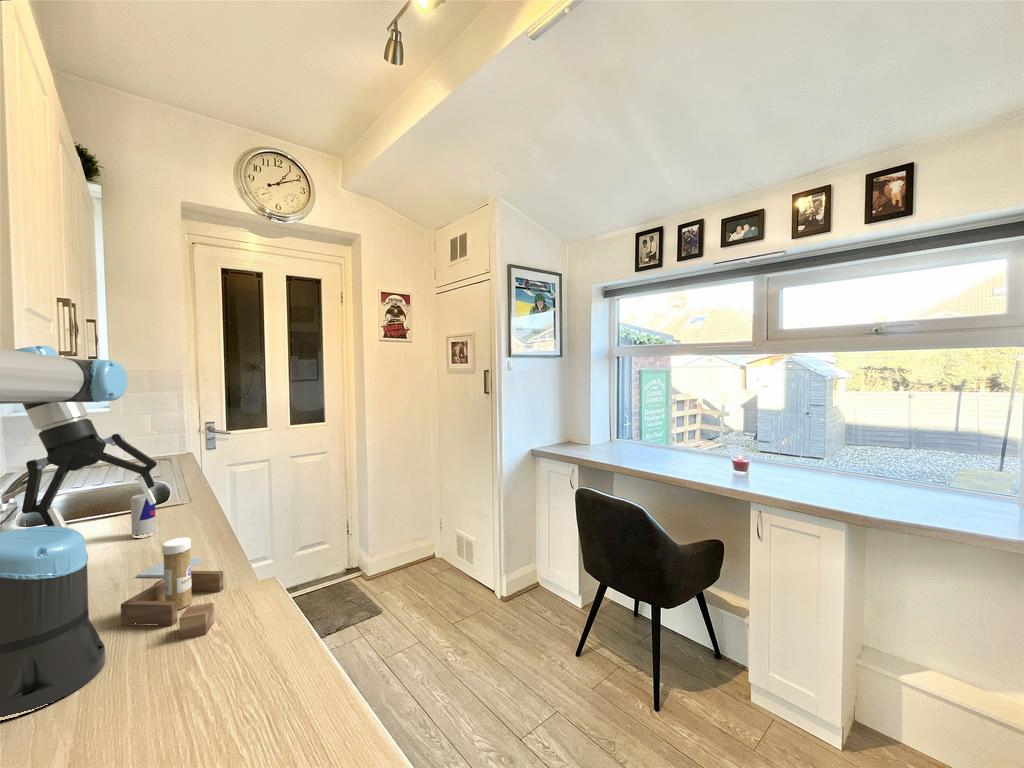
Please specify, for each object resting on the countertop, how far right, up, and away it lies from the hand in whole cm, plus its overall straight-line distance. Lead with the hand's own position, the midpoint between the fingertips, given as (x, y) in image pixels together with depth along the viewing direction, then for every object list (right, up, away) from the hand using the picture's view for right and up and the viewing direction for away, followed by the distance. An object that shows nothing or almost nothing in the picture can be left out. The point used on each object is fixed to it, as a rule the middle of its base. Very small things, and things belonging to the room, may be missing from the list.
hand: (112, 519), depth 86 cm
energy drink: (-26, -17, +38) cm, 49 cm away
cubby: (+13, -18, 0) cm, 22 cm away
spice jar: (+14, -18, 0) cm, 22 cm away
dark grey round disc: (+4, -17, +9) cm, 20 cm away
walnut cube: (+24, -18, -8) cm, 31 cm away
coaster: (-1, -17, +17) cm, 24 cm away
